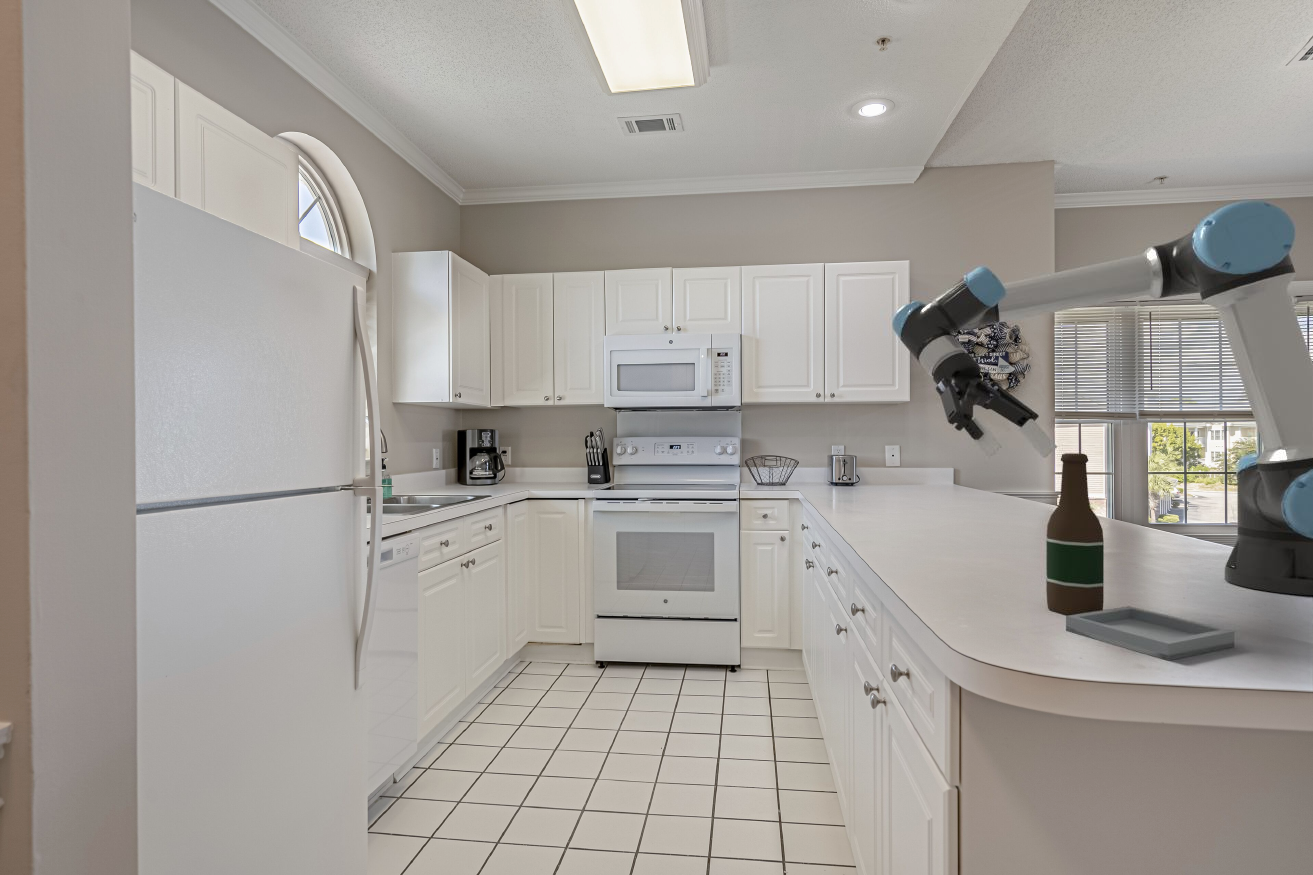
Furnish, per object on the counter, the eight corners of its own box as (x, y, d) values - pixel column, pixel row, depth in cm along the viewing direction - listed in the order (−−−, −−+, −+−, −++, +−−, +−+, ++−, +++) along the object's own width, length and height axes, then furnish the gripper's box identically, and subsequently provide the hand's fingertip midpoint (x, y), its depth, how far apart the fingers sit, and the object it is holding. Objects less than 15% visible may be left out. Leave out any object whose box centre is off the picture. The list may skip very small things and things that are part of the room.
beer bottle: (1087, 604, 105) (1087, 452, 105) (1116, 618, 97) (1116, 454, 97) (1035, 603, 106) (1035, 452, 106) (1060, 617, 98) (1060, 454, 98)
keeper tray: (1128, 619, 96) (1128, 606, 96) (1234, 646, 84) (1234, 631, 84) (1066, 630, 92) (1066, 615, 92) (1168, 660, 80) (1168, 643, 80)
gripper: (983, 384, 130) (1055, 466, 117) (888, 378, 119) (955, 468, 106) (1009, 354, 125) (1087, 437, 112) (912, 345, 114) (986, 435, 101)
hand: (1023, 452), depth 109 cm, fingers open, 13 cm apart
